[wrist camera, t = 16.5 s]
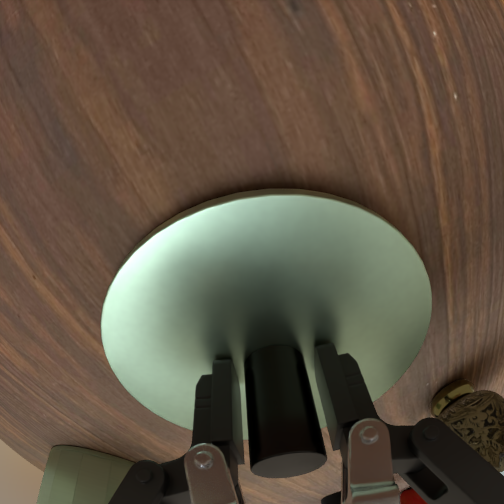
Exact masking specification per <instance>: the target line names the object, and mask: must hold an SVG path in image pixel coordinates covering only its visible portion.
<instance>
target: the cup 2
mask: <svg viewBox="0 0 504 504" xmlns="http://www.w3.org/2000/svg"><path fill="white" fill-rule="evenodd" d="M431 414H432V416H433V417H435V418H437V419H439V420H441V421H442V422H443V423H445V424H446V425H447V426H448V427H449V428H450V429H451V430H452V431H454V432H455V433H456V434H457V435H458V436H459V437H460V438H461V439H463V440H464V441H465V442H466V443H467V444H468V445H469V446H470V447H472V448H473V449H474V450H475V451H476V452H477V453H478V454H479V455H481V456H482V457H483V458H484V459H485V460H486V461H487V462H488V463H490V464H491V465H492V466H493V467H494V468H495V469H496V470H497V471H499V472H502V471H504V398H503V397H502V396H500V395H499V394H497V393H495V392H492V391H488V390H481V391H476V392H475V386H474V384H473V383H472V382H470V381H469V380H467V379H461V380H457V381H455V382H453V383H451V384H449V385H447V386H446V387H445V388H443V389H442V390H441V391H440V392H439V393H438V394H437V395H436V396H435V397H434V399H433V400H432V402H431Z"/></svg>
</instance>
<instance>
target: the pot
mask: <svg viewBox="0 0 504 504" xmlns="http://www.w3.org/2000/svg"><path fill="white" fill-rule="evenodd" d="M133 464H135V463H134V462H131V461H128V460H125V459H122V458H119V457H116V456H112V455H109V454H105V453H102V452H98V451H94V450H90V449H85V448H81V447H75V446H65V445H60V446H55V447H53V448H52V449H51V451H50V454H49V457H48V461H47V464H46V468H45V472H44V475H43V479H42V484H41V487H40V491H39V496H38V500H37V504H108V503H109V501H110V500H111V498H112V496H113V495H114V493H115V492H116V490H117V488H118V487H119V485H120V484H121V482H122V480H123V479H124V477H125V476H126V474H127V472H128V471H129V469H130V468H131V466H132V465H133Z"/></svg>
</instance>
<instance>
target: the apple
mask: <svg viewBox="0 0 504 504" xmlns="http://www.w3.org/2000/svg"><path fill="white" fill-rule="evenodd" d="M400 504H427V503H426V502H425V501H424V500H423V499H422V498H421V497H420V496H419V494H418V493H417V492H416V491H415V490H414V489H413V488H412V489H409V490H405V491H403V492H402V494H401V495H400Z"/></svg>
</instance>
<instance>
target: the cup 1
mask: <svg viewBox="0 0 504 504" xmlns="http://www.w3.org/2000/svg"><path fill="white" fill-rule="evenodd" d="M321 504H341V492H338V493H335V494H332V495H329V496H327V497H325V498H323V499H322V500H321Z"/></svg>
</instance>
